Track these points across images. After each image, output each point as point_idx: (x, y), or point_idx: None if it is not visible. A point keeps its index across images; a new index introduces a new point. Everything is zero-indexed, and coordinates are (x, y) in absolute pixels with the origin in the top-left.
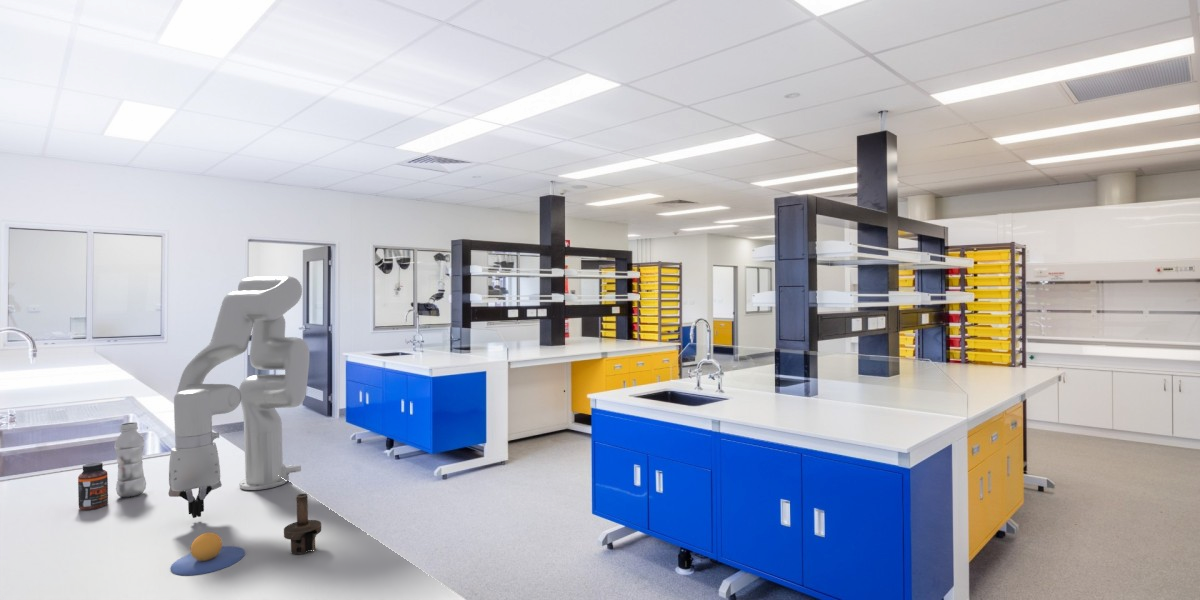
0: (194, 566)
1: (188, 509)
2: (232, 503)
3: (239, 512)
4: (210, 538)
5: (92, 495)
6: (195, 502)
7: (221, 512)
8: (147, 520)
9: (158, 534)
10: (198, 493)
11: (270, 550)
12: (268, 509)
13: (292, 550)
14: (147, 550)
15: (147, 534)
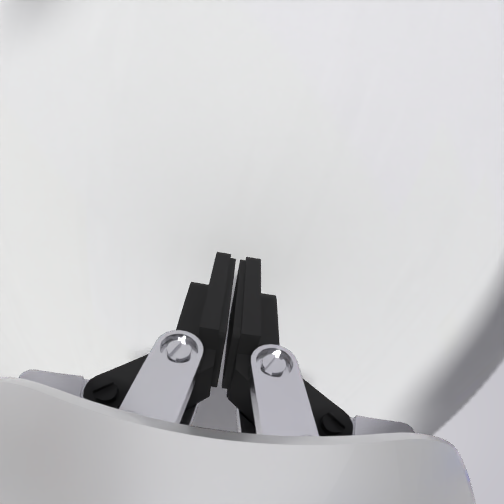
0: None
1: (188, 292)
2: (474, 128)
3: (413, 292)
4: None
5: None
6: (211, 384)
7: (380, 223)
8: (60, 34)
9: (84, 286)
10: (250, 386)
11: None
12: (459, 333)
13: None
14: (80, 372)
15: (51, 252)
